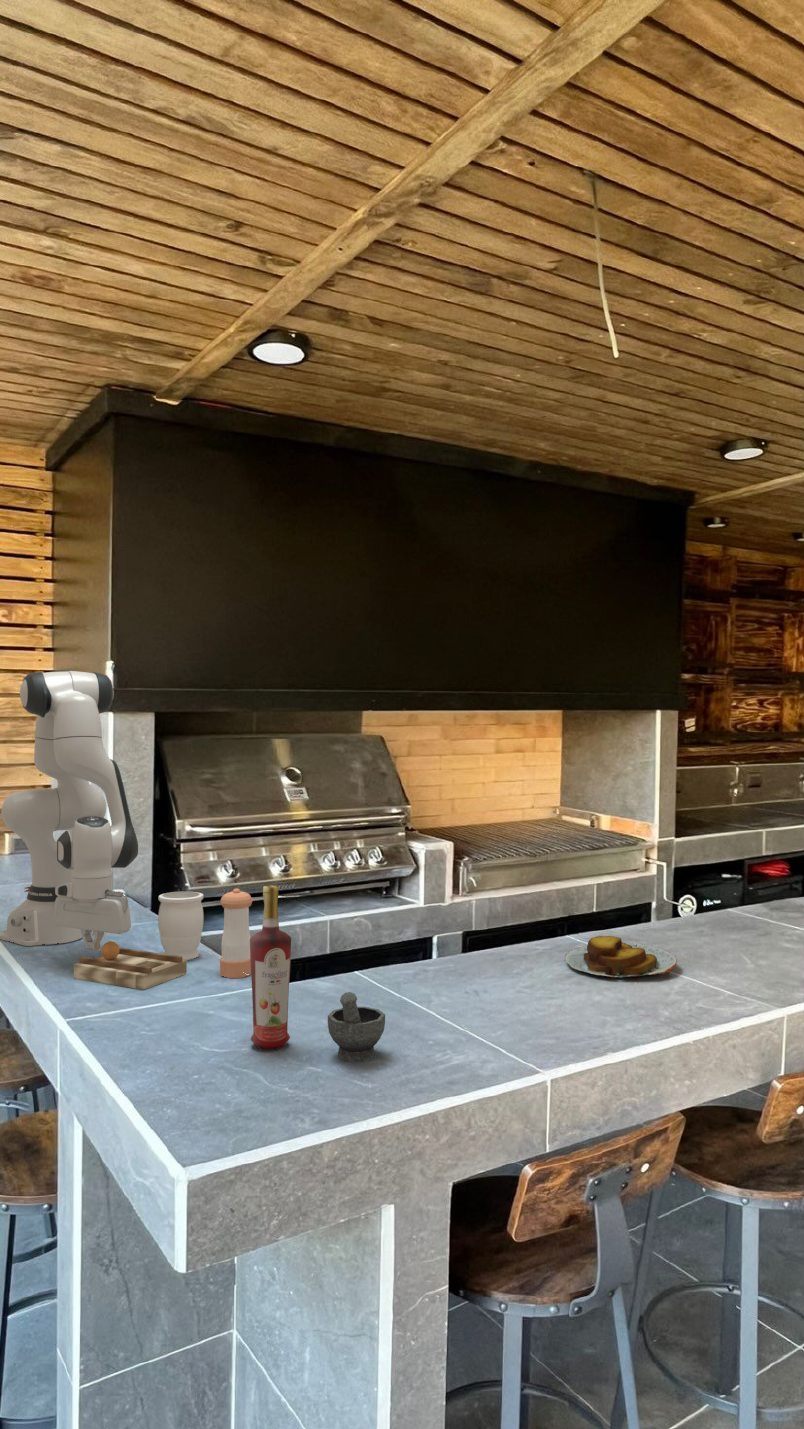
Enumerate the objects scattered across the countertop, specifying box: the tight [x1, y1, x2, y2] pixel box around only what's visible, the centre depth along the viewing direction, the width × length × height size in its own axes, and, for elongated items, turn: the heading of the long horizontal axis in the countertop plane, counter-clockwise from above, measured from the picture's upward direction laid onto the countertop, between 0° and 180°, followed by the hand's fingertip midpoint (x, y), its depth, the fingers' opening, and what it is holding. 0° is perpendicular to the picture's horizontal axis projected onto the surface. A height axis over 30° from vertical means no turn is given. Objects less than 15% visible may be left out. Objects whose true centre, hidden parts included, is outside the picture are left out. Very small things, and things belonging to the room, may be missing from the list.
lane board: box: [73, 947, 188, 991], centre depth 211 cm, size 20×14×4 cm
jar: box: [157, 891, 204, 961], centre depth 228 cm, size 11×10×15 cm
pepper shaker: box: [219, 888, 253, 979], centre depth 213 cm, size 7×7×19 cm
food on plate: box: [564, 935, 678, 984], centre depth 220 cm, size 25×25×7 cm
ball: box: [100, 940, 120, 960], centre depth 214 cm, size 4×4×4 cm
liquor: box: [250, 885, 292, 1051], centre depth 167 cm, size 7×7×28 cm
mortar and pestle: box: [327, 991, 386, 1063], centre depth 162 cm, size 11×9×12 cm
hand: (92, 949), depth 216 cm, fingers closed
